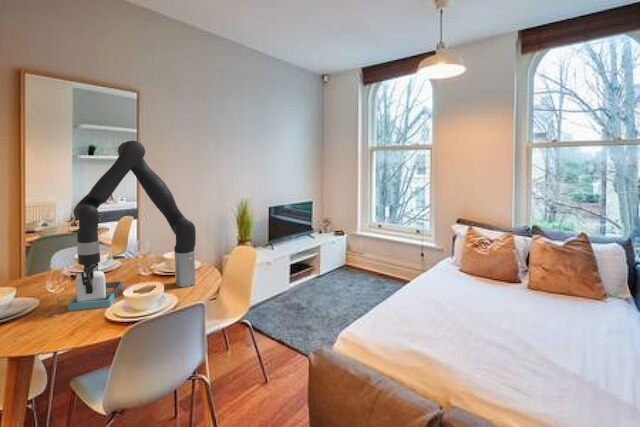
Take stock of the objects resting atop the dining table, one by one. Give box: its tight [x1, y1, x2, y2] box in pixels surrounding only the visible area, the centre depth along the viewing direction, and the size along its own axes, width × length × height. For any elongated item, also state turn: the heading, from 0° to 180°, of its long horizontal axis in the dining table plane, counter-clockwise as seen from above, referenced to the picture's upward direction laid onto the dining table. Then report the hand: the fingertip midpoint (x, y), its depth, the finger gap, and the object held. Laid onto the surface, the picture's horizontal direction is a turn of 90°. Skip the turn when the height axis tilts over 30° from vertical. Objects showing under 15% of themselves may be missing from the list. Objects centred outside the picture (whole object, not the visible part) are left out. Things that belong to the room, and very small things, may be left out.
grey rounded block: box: [75, 270, 107, 302], centre depth 138 cm, size 10×4×12 cm, turn 123°
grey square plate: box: [105, 280, 124, 298], centre depth 152 cm, size 15×15×2 cm
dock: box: [67, 293, 116, 312], centre depth 139 cm, size 15×8×3 cm, turn 110°
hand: (91, 290), depth 138 cm, fingers closed on grey rounded block, 5 cm apart
